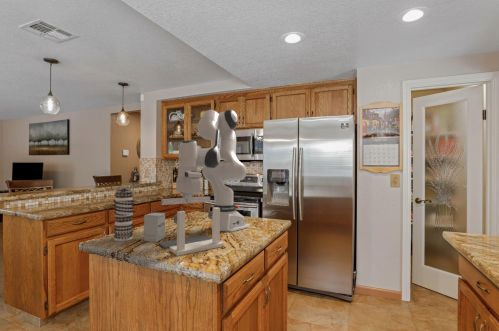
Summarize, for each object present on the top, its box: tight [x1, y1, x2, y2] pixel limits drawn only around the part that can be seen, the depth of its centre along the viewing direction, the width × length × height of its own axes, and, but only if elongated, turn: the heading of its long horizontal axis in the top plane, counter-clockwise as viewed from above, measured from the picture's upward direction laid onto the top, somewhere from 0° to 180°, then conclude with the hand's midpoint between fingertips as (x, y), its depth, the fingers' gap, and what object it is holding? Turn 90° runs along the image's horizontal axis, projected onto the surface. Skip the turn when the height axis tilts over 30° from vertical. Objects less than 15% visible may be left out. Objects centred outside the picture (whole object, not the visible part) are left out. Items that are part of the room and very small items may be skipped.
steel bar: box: [160, 196, 211, 206], centre depth 126 cm, size 24×2×2 cm, turn 128°
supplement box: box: [143, 212, 166, 243], centre depth 130 cm, size 7×7×13 cm
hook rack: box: [169, 207, 224, 257], centre depth 118 cm, size 22×8×18 cm, turn 128°
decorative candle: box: [113, 187, 135, 242], centre depth 131 cm, size 9×9×25 cm
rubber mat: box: [158, 234, 212, 250], centre depth 127 cm, size 24×8×1 cm, turn 128°
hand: (187, 202), depth 126 cm, fingers closed on steel bar, 2 cm apart
